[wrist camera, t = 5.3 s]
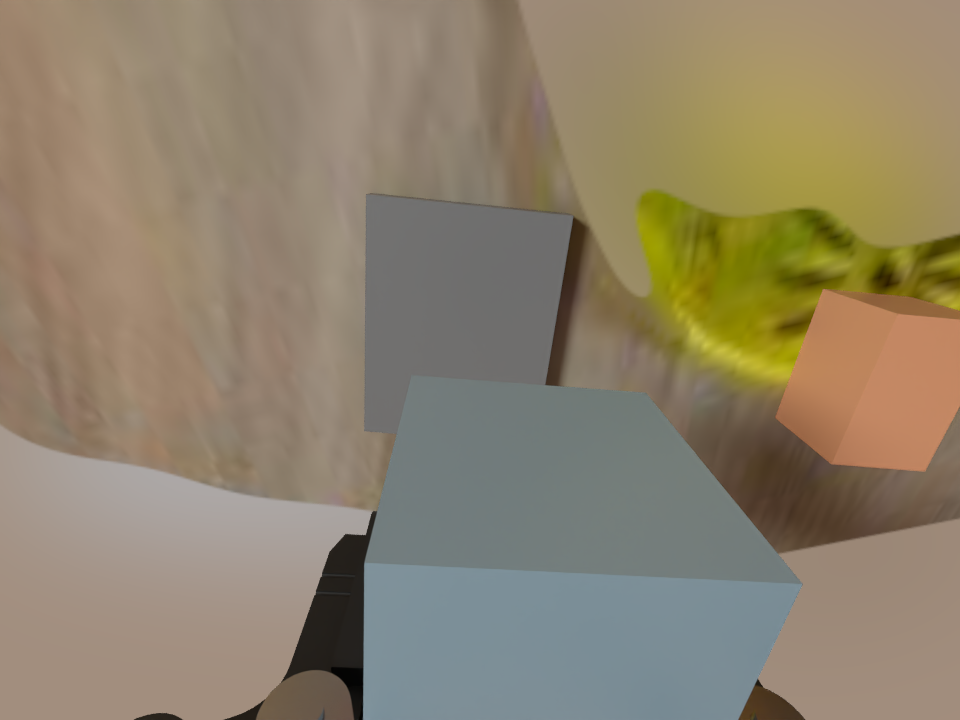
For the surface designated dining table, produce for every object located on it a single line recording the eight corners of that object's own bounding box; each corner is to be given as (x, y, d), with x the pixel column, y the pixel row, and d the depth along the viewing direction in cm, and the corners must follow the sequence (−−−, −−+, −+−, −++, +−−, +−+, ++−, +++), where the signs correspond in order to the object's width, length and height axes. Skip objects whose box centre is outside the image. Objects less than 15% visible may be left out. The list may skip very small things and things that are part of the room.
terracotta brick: (908, 296, 26) (1004, 323, 21) (852, 423, 29) (924, 471, 24) (821, 288, 26) (897, 314, 21) (773, 416, 29) (831, 464, 24)
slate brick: (645, 393, 10) (802, 584, 5) (579, 651, 13) (644, 916, 8) (411, 374, 10) (364, 562, 5) (398, 644, 13) (361, 917, 8)
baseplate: (568, 213, 24) (573, 216, 23) (532, 434, 29) (535, 444, 28) (371, 193, 23) (366, 194, 22) (368, 420, 28) (364, 431, 27)
